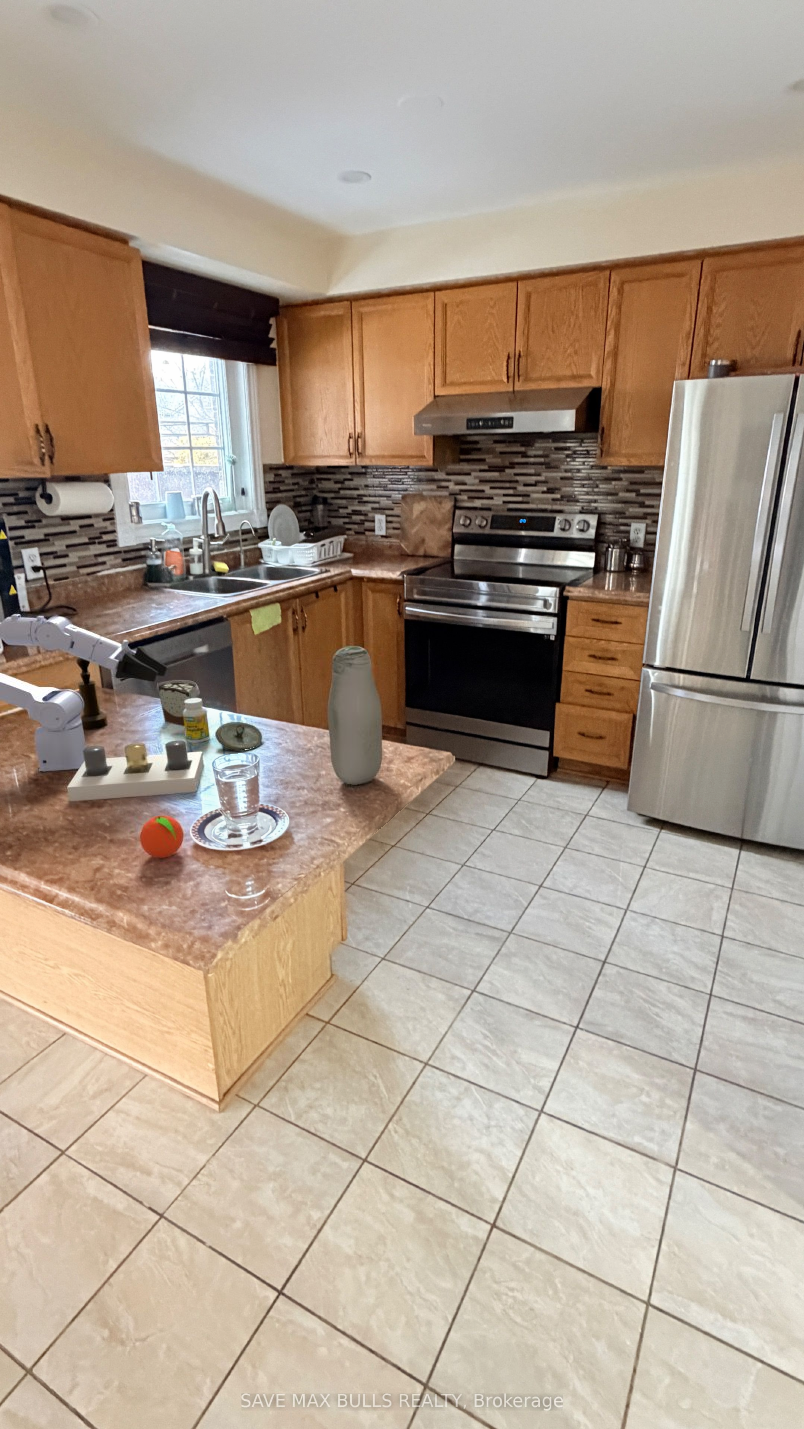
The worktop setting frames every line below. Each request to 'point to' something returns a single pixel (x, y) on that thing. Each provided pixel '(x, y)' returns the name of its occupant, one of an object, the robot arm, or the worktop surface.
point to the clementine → (161, 836)
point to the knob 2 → (177, 755)
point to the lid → (238, 736)
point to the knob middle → (136, 758)
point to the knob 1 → (95, 760)
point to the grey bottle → (354, 717)
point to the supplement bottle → (195, 721)
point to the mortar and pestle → (90, 699)
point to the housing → (137, 779)
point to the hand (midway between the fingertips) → (160, 674)
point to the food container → (176, 699)
